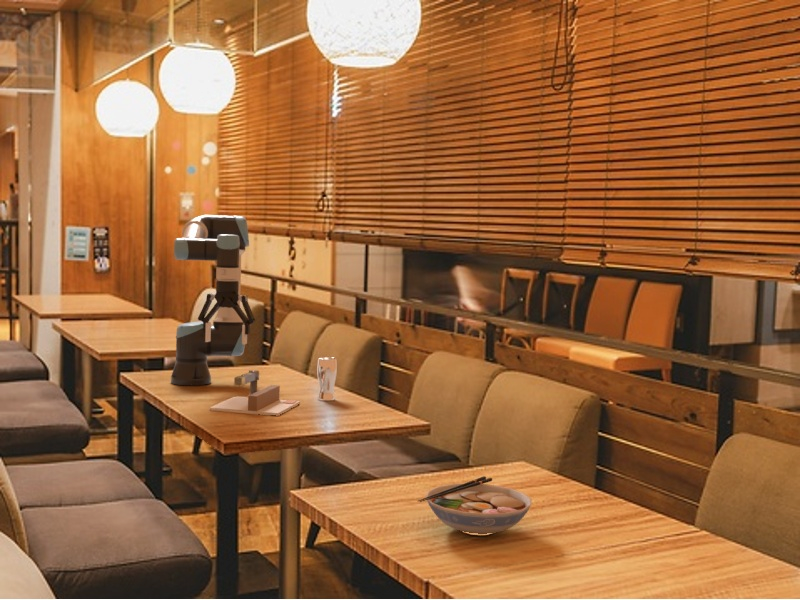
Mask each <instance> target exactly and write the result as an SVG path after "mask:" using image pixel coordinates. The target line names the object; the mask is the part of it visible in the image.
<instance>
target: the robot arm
mask: <svg viewBox="0 0 800 600" xmlns="http://www.w3.org/2000/svg"><path fill="white" fill-rule="evenodd" d="M248 229H249V228H248V222H247V219H246V217H245V216H242V215H241V216H240V215H224V214H223V215H221V214H217V215H216V214H215V215H214V214H203V215H198V216H195V217H193V218H191V219H190V220H187V222H185V224H184V225H183V228H182V231H181V236H182V237H177V238H175V239H174V242H173V243H174V245H173V246H174V247H173V255H174V256H173V257H174V259H175V260H179V261H181V260H182V261H208V262H209V261H211V262H212V261H213V262H216V274H215V276H216V277H215V278H216V281H215V294H213V293H211V292H210V293H207V294H206V300H205V302H204V305H203V307H202V309H201V310H200V313H199V315H198V317H197V321H192V322H191V321H190V322H183V323H181V324H179V325H177V327H176V334H175V335H176V336H175V338H176V344H175V345H176V346H175V347H176V348H175V364H174V367H173V371H172V372H171V376H170V384H173V385H176V386H177V385H179V386H204V385H209V384H211V383H212V376H211V372H210V369H209V365H208V357H209V356H211V357H212V356H214V357H215V356H216V357H218V356H219V357H235V356H236V357H239V356H240V357H241V356H242V355H243V354H244V353H245V352H244V351H245V347H246V345H248V336H249V335H250V333H251V325H252V324H255V323H256V319H255V316H254V313H253V311H252V309H251V307H250V304H249V301H248V300H249V299H248V295H246V294H245V295H241V285H242V283H241V282H242V279H241V278H242V255H243V254H244V253H245V252H246V247H249V246H250V240H249V239H250V238H249V230H248ZM213 300H215V301H216V302H215V304H214V306H213V307H212V308H211V310H210V311H209V309H210V307H211V305H212V302H213ZM241 305H242V307H243V310H244V311H243V310H242V308H241ZM216 313H217V315H216V318H215V319H214V320H213V322H211V321H210V320H211V319H212V317H214V315H215V314H216ZM212 323H213V324H212Z"/></svg>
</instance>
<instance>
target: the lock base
mask: <svg viewBox="0 0 800 600" xmlns="http://www.w3.org/2000/svg"><path fill="white" fill-rule="evenodd" d="M249 384H250V385H249V395H248V396H233V397H231V398H228V399H226V400H224V401H221V402H220V403H216V404H215V405H213V406H210V407H209V411H212V412H223V413H224V412H225V413H235V414H248V415H258V414H260V415H259V416H262V415H263V416H270V415H276V416H275V417H279V416H281V415H283V414H284V412H285V413H286V412H288V411H290V410H292V409H293V407H294V408H295V407H297V406H298V404H299V405H300V401H299V400H297V399H296V400H295V399H280V393H281V392H280V387H281V385H278V384H277V385H276V384H271V385H269V386H268V385H267V387H264V388H262V389H260V390H258V380H254V381H252V382H249ZM291 408H292V409H291ZM282 413H283V414H282ZM280 414H281V415H280ZM278 415H279V416H278Z"/></svg>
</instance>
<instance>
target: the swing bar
mask: <svg viewBox="0 0 800 600" xmlns="http://www.w3.org/2000/svg"><path fill="white" fill-rule="evenodd" d="M233 379H234V382H233V384H234V385H233V386H236V387H243V386H245V385H247V384H250V382H252V381H254V380H257V381H259V380H260V371H259V370H256V369H255V370H253V369H252V370H248V372H247V373H244V374H241V375H238V376H235V377H234V378H233Z"/></svg>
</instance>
